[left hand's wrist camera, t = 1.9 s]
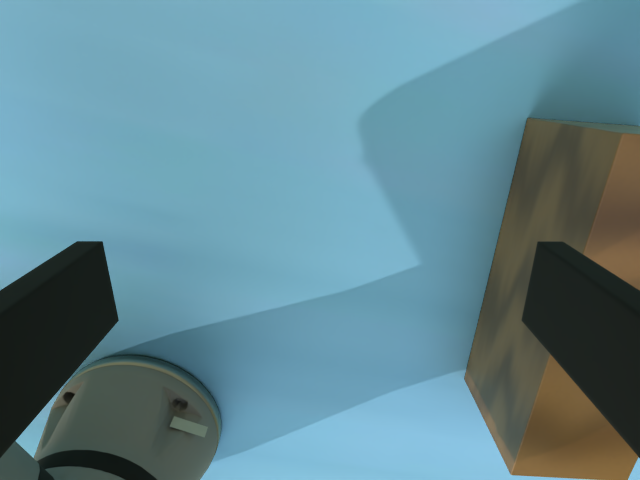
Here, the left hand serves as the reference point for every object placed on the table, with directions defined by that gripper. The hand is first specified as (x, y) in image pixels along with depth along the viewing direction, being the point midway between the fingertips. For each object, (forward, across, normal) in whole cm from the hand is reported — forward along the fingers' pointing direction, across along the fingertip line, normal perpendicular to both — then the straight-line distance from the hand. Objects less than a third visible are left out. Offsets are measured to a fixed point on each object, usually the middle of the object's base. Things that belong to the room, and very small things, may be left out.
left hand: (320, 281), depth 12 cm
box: (+19, -18, +8) cm, 28 cm away
